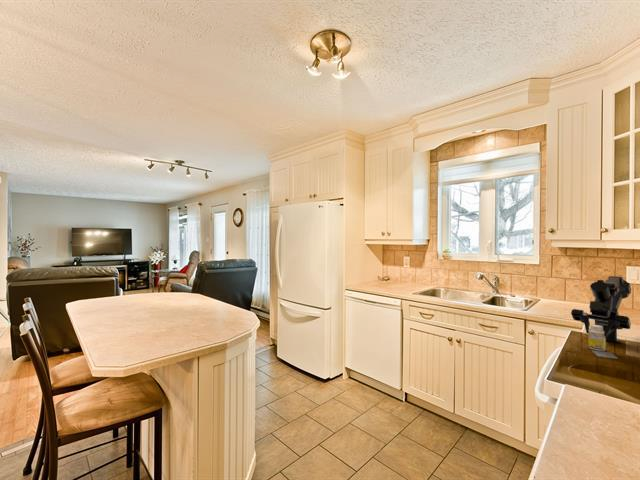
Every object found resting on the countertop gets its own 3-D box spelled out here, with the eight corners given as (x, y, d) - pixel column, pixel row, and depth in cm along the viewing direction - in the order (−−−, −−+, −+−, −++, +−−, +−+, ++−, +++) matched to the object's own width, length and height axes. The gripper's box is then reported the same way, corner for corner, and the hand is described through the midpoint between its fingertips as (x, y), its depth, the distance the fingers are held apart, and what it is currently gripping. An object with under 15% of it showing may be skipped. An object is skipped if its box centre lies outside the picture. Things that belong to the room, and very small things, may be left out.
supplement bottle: (596, 346, 132) (596, 323, 132) (609, 351, 127) (609, 327, 127) (585, 347, 132) (584, 324, 132) (597, 351, 126) (597, 327, 126)
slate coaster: (591, 351, 127) (591, 350, 127) (610, 353, 124) (610, 352, 124) (598, 356, 121) (598, 355, 121) (617, 359, 119) (617, 358, 119)
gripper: (572, 291, 139) (564, 319, 133) (628, 297, 124) (623, 328, 118) (577, 305, 144) (570, 333, 137) (632, 313, 129) (627, 344, 122)
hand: (596, 334), depth 129 cm, fingers closed on supplement bottle, 5 cm apart
